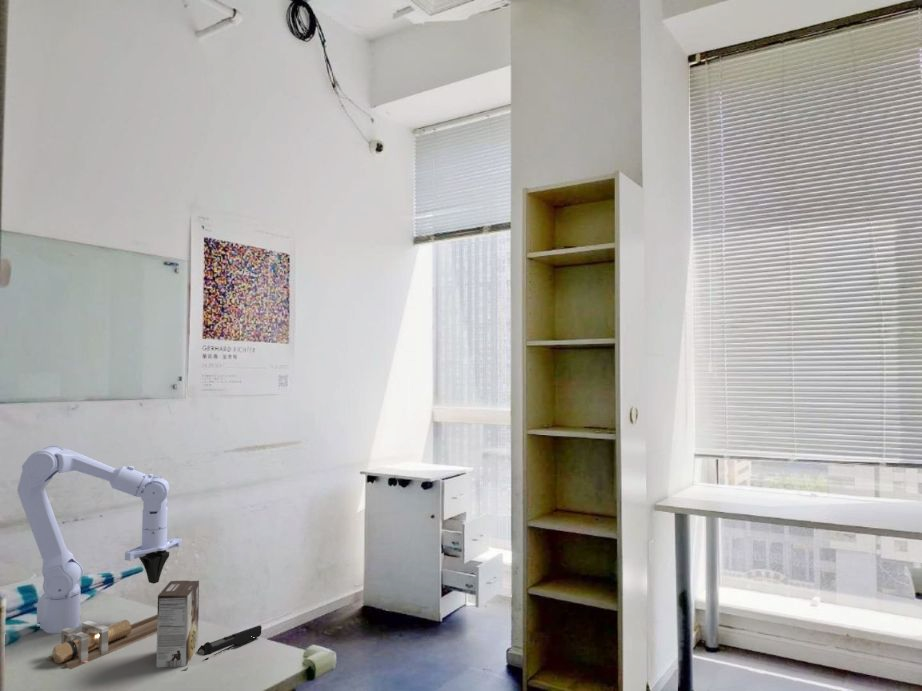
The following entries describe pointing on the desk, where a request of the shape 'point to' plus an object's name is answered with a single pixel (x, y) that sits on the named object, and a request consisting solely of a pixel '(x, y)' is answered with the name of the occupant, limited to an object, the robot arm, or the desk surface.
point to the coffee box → (177, 623)
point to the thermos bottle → (90, 641)
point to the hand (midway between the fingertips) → (153, 582)
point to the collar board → (104, 640)
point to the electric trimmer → (230, 641)
